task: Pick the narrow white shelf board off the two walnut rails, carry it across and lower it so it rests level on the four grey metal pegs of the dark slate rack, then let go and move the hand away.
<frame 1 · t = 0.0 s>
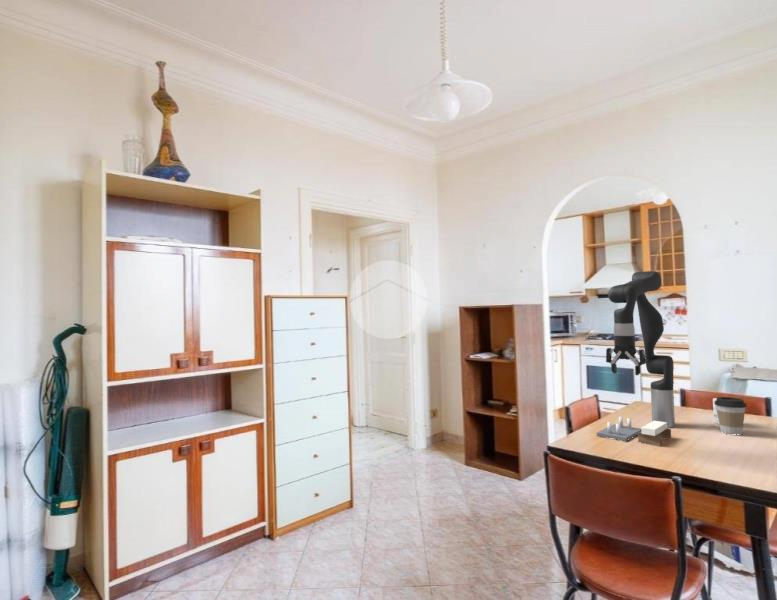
hand: (625, 374, 178), 29 cm above the table, tool pointing down, fingers open, 8 cm apart
ink box: (724, 425, 206), on the table
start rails: (655, 440, 184), on the table
coffee cup: (731, 433, 192), on the table
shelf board: (654, 430, 184), point 4 cm above the table, touching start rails
peg rack: (619, 434, 195), on the table
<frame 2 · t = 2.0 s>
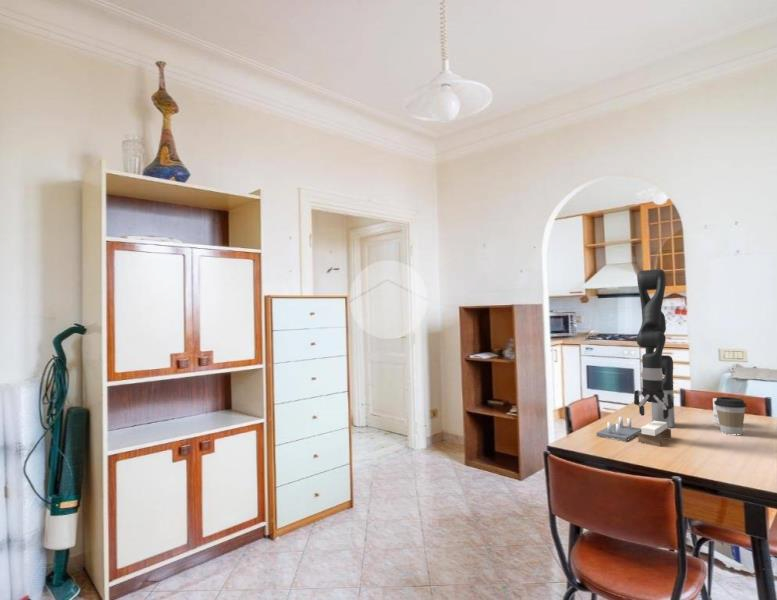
hand: (653, 416, 184), 10 cm above the table, tool pointing down, fingers open, 8 cm apart
nothing on the table moved.
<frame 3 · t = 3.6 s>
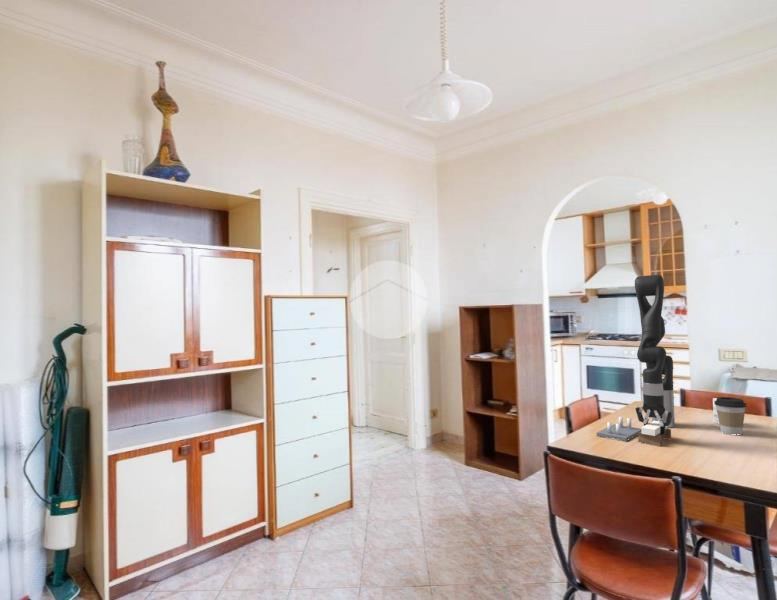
hand: (654, 433, 184), 3 cm above the table, tool pointing down, fingers closed on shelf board, 5 cm apart
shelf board: (654, 430, 184), point 4 cm above the table, touching gripper, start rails
everything else where it was.
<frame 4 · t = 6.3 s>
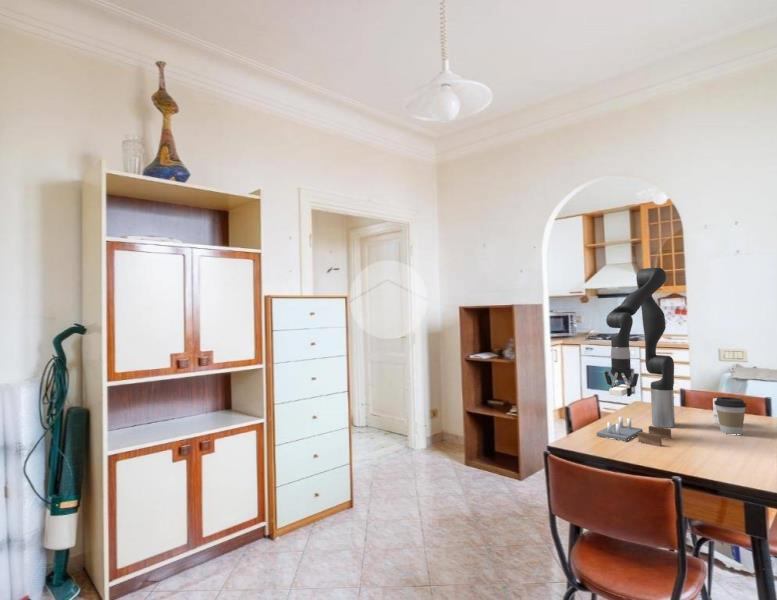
hand: (621, 395, 194), 17 cm above the table, tool pointing down, fingers closed on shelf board, 5 cm apart
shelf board: (621, 392, 194), point 19 cm above the table, touching gripper
everything else where it was.
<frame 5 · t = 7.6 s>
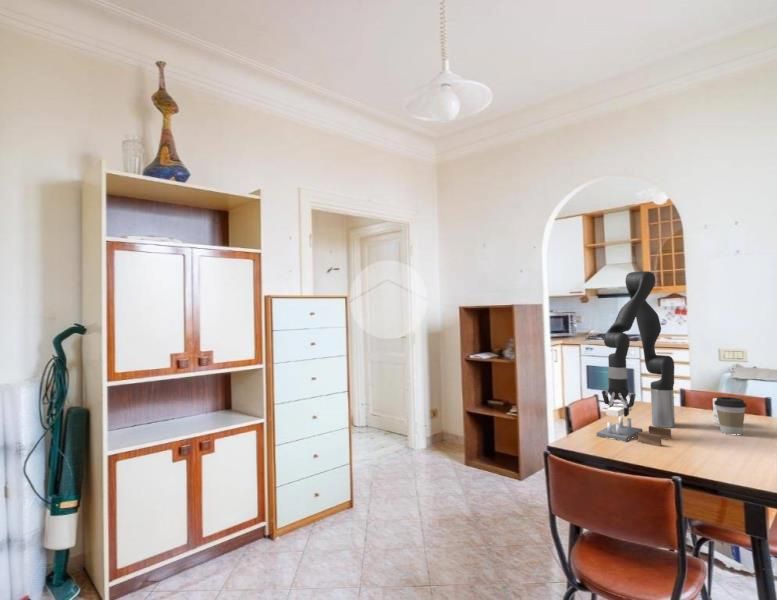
hand: (619, 415, 195), 8 cm above the table, tool pointing down, fingers closed on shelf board, 5 cm apart
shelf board: (619, 412, 195), point 10 cm above the table, touching gripper
everything else where it was.
when the fingers open (6 cm above the table, at t = 8.8 s): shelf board drops 1 cm, resting on peg rack.
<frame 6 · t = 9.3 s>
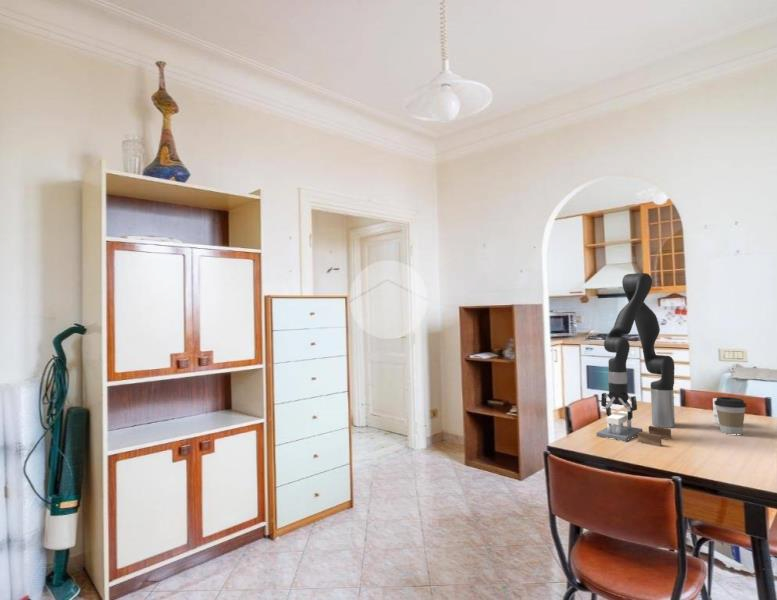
hand: (619, 418, 195), 7 cm above the table, tool pointing down, fingers open, 8 cm apart
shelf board: (619, 420, 195), point 6 cm above the table, touching peg rack
everything else where it was.
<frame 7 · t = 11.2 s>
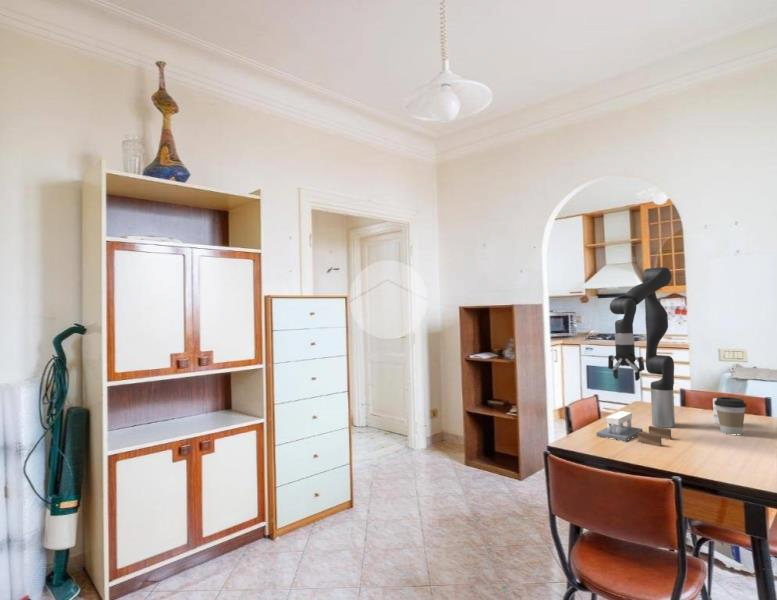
hand: (626, 379, 195), 24 cm above the table, tool pointing down, fingers open, 8 cm apart
nothing on the table moved.
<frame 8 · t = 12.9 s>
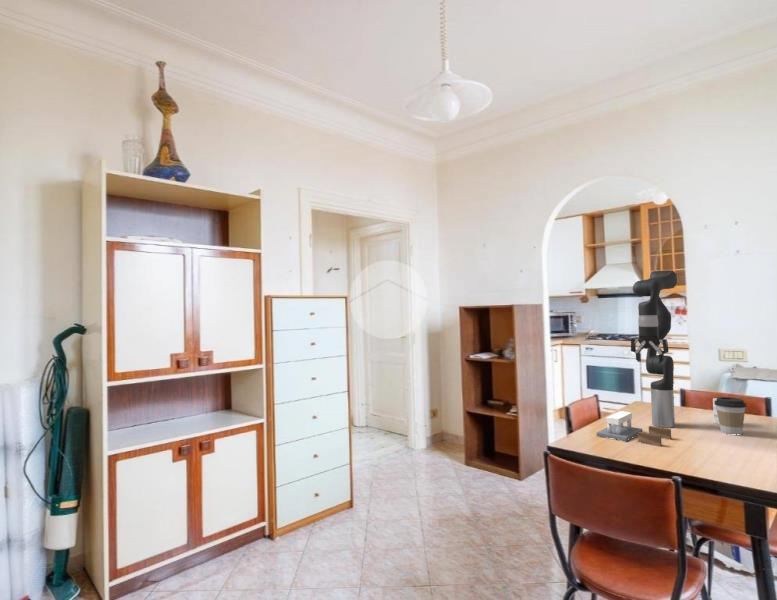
hand: (649, 362, 192), 32 cm above the table, tool pointing down, fingers open, 8 cm apart
nothing on the table moved.
at the end: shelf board 0.1 cm off-centre on the peg rack, point 6.0 cm above the peg rack's base; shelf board tilted 0°; the gripper is holding nothing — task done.
